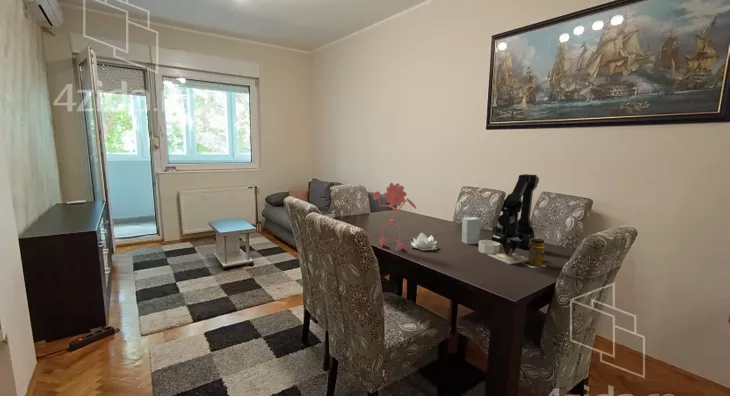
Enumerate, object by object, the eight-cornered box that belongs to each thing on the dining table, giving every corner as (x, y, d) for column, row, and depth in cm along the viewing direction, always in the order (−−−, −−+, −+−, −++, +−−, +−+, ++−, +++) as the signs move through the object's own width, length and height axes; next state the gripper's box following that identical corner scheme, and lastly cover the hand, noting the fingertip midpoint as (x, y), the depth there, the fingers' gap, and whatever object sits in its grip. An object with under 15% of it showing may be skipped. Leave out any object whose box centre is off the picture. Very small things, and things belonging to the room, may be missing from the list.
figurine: (410, 256, 164) (413, 185, 159) (366, 247, 178) (367, 182, 173) (422, 249, 177) (425, 183, 172) (380, 241, 191) (382, 180, 186)
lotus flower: (438, 246, 182) (438, 231, 181) (436, 254, 168) (437, 237, 167) (411, 244, 186) (412, 229, 185) (408, 252, 171) (409, 235, 170)
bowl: (488, 248, 180) (489, 239, 179) (503, 253, 171) (504, 244, 170) (474, 250, 176) (474, 241, 175) (488, 256, 166) (489, 246, 166)
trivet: (507, 252, 173) (507, 251, 173) (530, 260, 161) (530, 259, 161) (487, 255, 167) (487, 254, 167) (509, 264, 155) (509, 263, 155)
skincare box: (474, 242, 192) (475, 216, 190) (479, 244, 186) (481, 218, 184) (460, 242, 190) (462, 217, 188) (466, 245, 184) (467, 219, 182)
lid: (507, 252, 172) (508, 243, 171) (526, 258, 161) (527, 250, 161) (490, 254, 167) (491, 246, 166) (509, 261, 156) (510, 252, 156)
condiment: (547, 266, 153) (549, 241, 151) (532, 268, 150) (534, 242, 149) (535, 261, 160) (537, 237, 158) (520, 262, 157) (522, 238, 156)
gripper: (511, 218, 173) (509, 247, 175) (484, 221, 165) (482, 252, 167) (530, 223, 163) (527, 254, 165) (501, 226, 155) (499, 258, 157)
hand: (508, 254), depth 164 cm, fingers closed on lid, 3 cm apart
